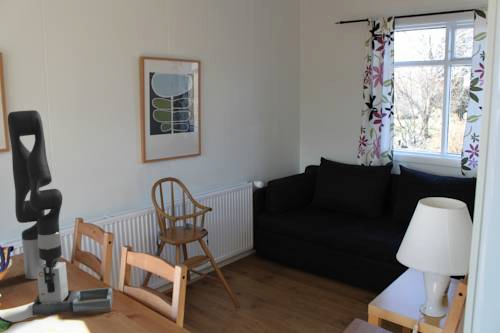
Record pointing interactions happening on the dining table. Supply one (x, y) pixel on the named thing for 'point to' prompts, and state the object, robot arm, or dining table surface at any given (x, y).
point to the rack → (93, 301)
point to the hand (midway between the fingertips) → (53, 287)
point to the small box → (59, 284)
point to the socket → (53, 305)
